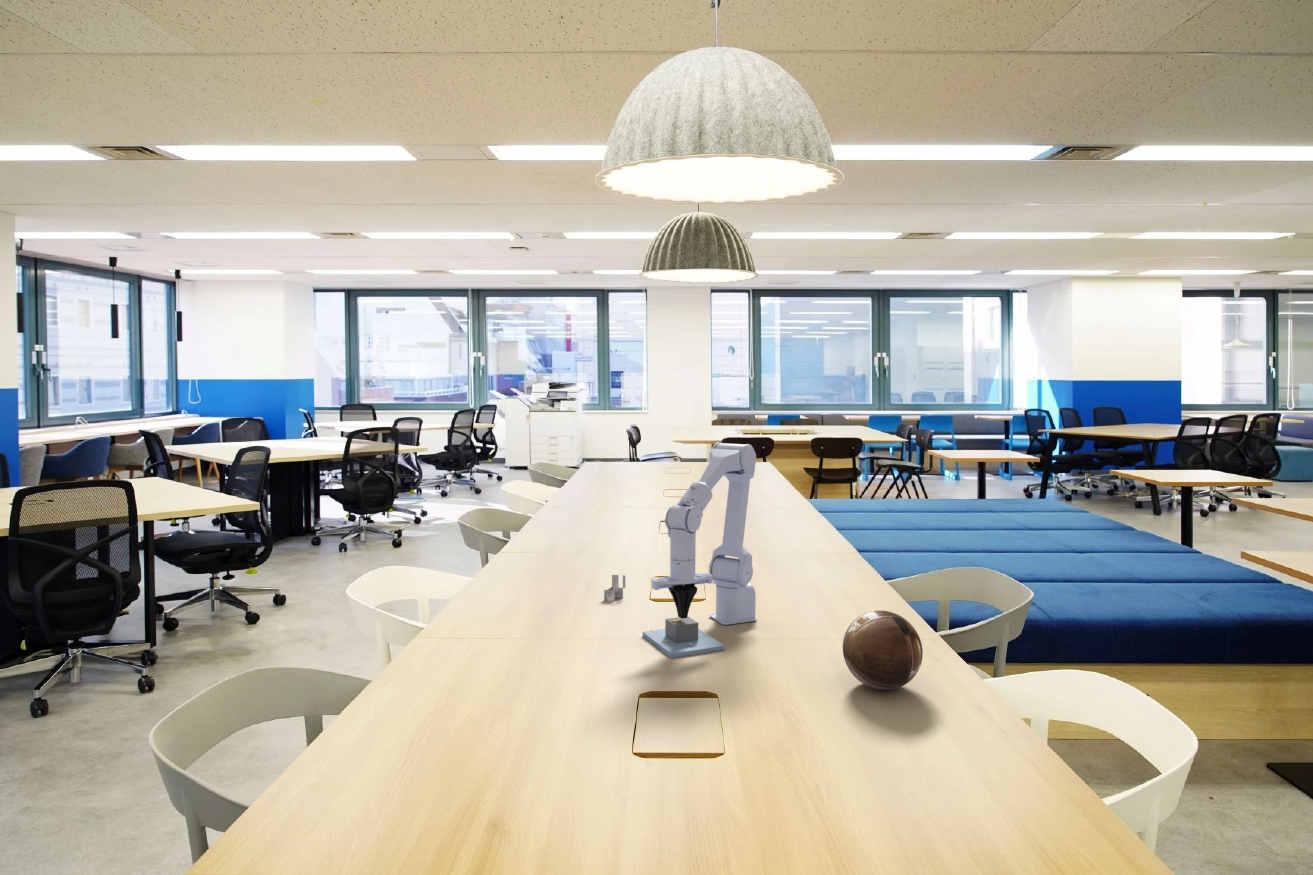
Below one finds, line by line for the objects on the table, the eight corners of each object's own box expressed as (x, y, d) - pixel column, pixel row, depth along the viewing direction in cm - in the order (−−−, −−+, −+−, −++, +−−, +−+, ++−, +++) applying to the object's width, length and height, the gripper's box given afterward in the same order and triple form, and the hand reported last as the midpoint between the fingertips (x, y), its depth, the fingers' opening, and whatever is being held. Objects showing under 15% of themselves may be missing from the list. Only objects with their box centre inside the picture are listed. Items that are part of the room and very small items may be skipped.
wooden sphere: (826, 679, 161) (828, 606, 160) (886, 668, 167) (888, 598, 166) (874, 708, 147) (876, 628, 146) (938, 695, 153) (940, 618, 152)
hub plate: (692, 629, 193) (692, 614, 193) (724, 649, 178) (724, 634, 178) (642, 636, 188) (642, 620, 187) (671, 658, 173) (671, 641, 173)
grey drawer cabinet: (687, 632, 187) (687, 614, 187) (698, 640, 182) (698, 621, 182) (665, 636, 185) (665, 617, 184) (675, 643, 180) (676, 624, 179)
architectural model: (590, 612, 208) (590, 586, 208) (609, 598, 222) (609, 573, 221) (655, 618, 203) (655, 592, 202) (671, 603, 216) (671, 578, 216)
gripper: (703, 551, 188) (702, 608, 189) (646, 557, 182) (646, 616, 183) (717, 558, 182) (717, 616, 183) (659, 564, 176) (659, 624, 177)
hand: (682, 617), depth 183 cm, fingers closed
